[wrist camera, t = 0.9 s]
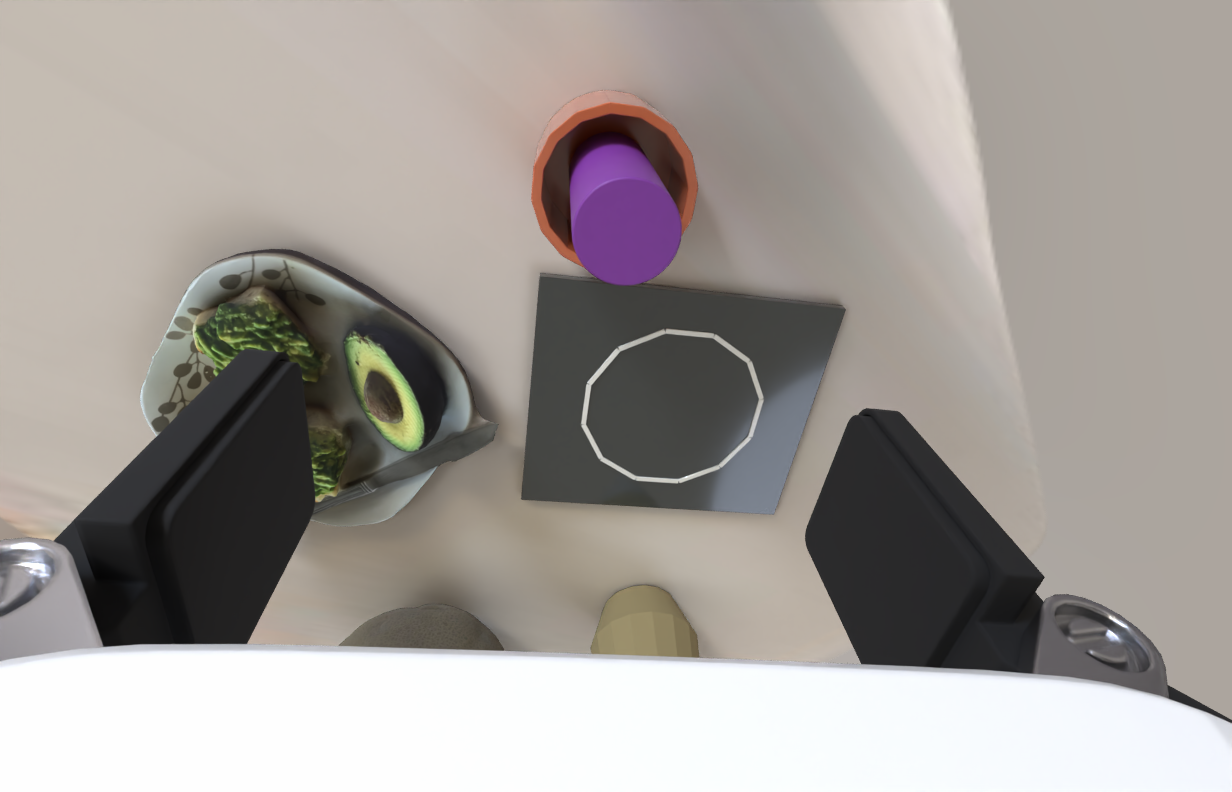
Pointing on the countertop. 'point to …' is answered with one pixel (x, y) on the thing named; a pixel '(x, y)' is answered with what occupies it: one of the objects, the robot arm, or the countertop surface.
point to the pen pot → (597, 117)
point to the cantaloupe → (425, 630)
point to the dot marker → (620, 211)
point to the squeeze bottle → (644, 625)
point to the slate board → (669, 394)
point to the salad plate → (327, 376)
